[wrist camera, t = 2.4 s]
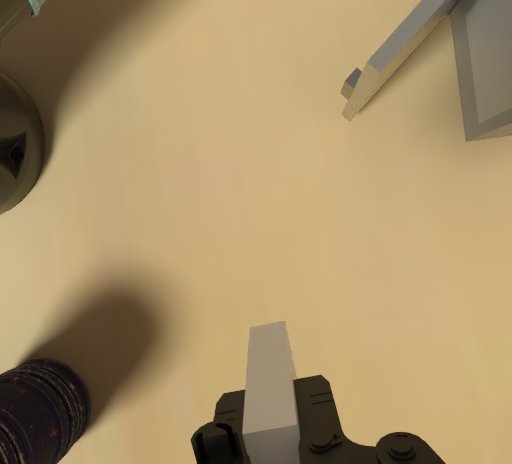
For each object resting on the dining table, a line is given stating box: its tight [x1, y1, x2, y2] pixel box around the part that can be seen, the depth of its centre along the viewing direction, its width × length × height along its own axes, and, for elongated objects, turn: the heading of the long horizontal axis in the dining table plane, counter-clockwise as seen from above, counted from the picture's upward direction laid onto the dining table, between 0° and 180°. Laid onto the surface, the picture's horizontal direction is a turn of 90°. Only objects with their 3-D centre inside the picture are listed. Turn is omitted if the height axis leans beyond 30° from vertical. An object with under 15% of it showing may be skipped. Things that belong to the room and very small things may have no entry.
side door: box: [341, 0, 461, 121], centre depth 31 cm, size 13×2×13 cm, turn 138°
